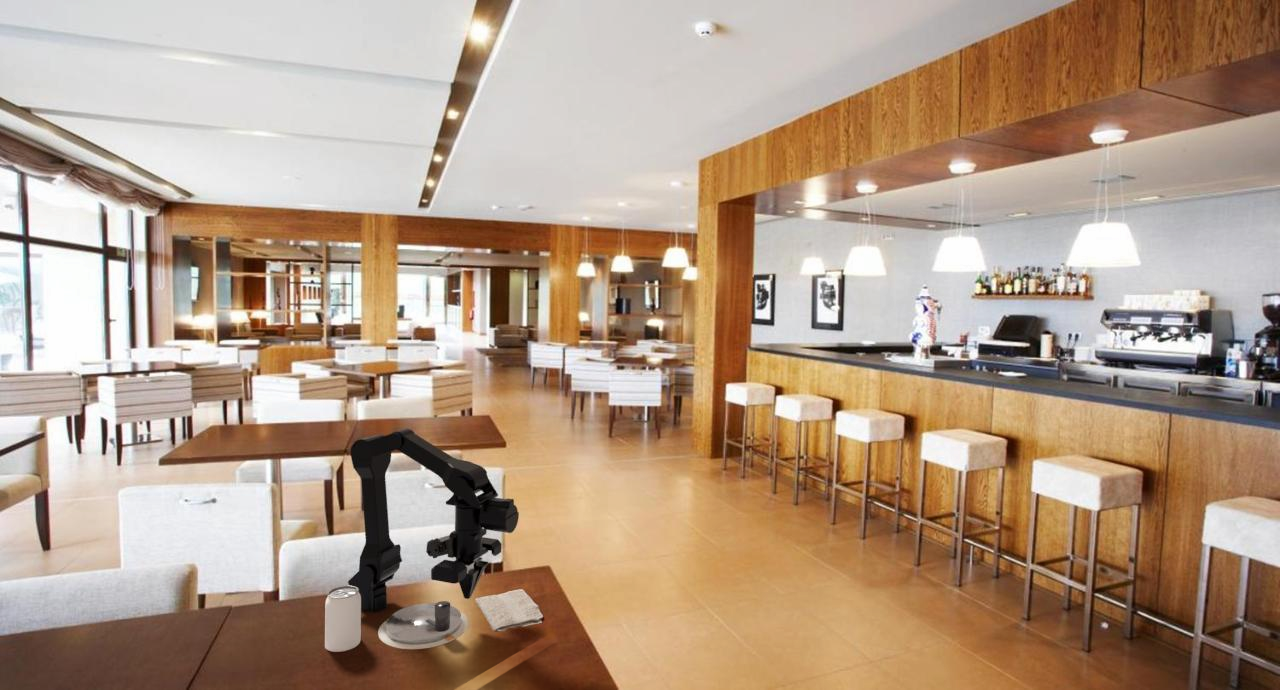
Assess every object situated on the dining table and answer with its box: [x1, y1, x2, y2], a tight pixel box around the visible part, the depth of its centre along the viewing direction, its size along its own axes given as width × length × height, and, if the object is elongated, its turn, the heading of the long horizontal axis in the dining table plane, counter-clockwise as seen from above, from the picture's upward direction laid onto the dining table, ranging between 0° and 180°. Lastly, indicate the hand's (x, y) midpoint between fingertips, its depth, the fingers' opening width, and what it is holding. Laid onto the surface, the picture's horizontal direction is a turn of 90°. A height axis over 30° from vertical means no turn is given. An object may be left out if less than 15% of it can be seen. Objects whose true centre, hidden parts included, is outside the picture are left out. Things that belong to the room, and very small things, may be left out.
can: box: [324, 585, 362, 653], centre depth 129 cm, size 6×6×12 cm
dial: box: [386, 600, 462, 644], centre depth 137 cm, size 15×15×6 cm
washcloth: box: [474, 588, 544, 633], centre depth 146 cm, size 12×18×3 cm, turn 30°
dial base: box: [377, 611, 469, 650], centre depth 137 cm, size 18×18×2 cm
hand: (467, 598), depth 139 cm, fingers closed
